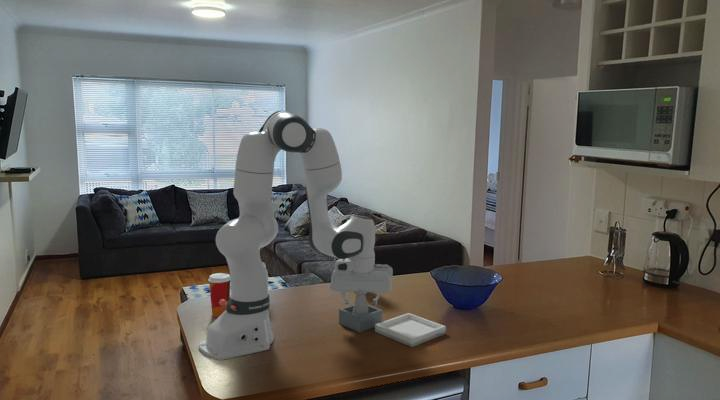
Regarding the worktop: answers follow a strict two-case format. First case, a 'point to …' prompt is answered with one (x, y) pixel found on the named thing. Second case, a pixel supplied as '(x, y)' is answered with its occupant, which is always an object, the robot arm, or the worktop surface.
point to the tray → (410, 329)
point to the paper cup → (219, 292)
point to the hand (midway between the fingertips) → (360, 304)
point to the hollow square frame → (360, 318)
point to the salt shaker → (360, 303)
